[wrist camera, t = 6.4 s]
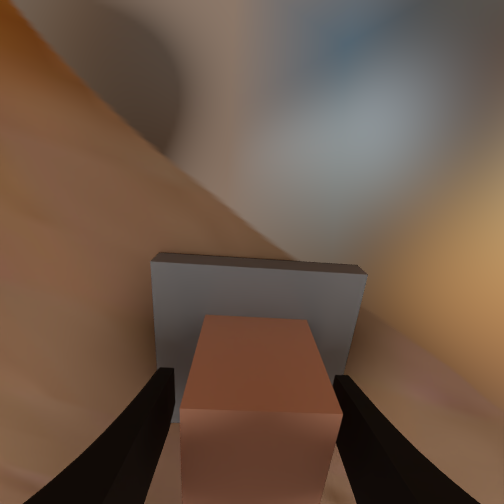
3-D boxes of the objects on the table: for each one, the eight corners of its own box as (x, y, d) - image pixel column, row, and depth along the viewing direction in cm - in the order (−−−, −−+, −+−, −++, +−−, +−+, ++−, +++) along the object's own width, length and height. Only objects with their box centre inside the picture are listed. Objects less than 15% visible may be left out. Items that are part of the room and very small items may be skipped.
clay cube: (204, 392, 14) (182, 510, 9) (205, 314, 12) (179, 408, 8) (293, 395, 14) (317, 512, 9) (306, 319, 12) (343, 414, 8)
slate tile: (166, 403, 16) (160, 422, 15) (159, 252, 12) (150, 261, 11) (324, 409, 16) (330, 427, 15) (357, 265, 13) (367, 274, 12)
